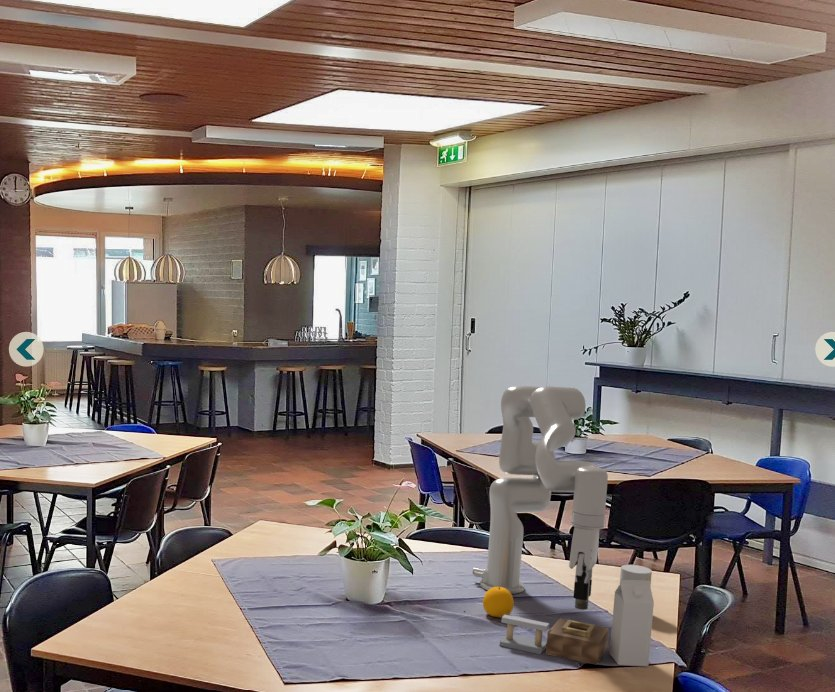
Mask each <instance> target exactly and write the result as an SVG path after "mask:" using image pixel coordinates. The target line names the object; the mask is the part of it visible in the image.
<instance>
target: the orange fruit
mask: <svg viewBox="0 0 835 692" xmlns="http://www.w3.org/2000/svg"><path fill="white" fill-rule="evenodd" d="M514 601H515V600H514V597H513V594H511V593H510V592H509V591H508V590H507V589H506V588H503V587H493V588H491V589H489V590H486V591H485V594H484V595H483V599H482V606H483V609H484V611H485V613H486V614H488V615H489V616H491V617H493V618H494V617H495V618H502V617H503V616H504V615H510V614H511V613H512V612H513V609H514V605H515V604H514V603H515V602H514Z"/></svg>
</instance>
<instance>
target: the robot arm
mask: <svg viewBox="0 0 835 692" xmlns="http://www.w3.org/2000/svg"><path fill="white" fill-rule="evenodd" d="M500 400H501V401H500V409H501V416H502V423H503V425H502V433H501V440H500V449H499V456H498V457H499V459H498V460H499V461H498V463H499V464H498V465H499V468H500V470H501V472H503V473H504V474H508V475H518V476H521V475H522V476H532V477H500V478H497V479H495V480H493V482H492V483H491V484H490V487H489V504H490V505H489V507H490V521H489V523H490V524H489V525H490V526H489V536H488V537H489V538H488V550H487V562H486V568H484V569H481V568H479V567H473V568H472V575H474V577H477V578H481V579H480V582H479V584H480V587H481V588H482V589H484V590H486V591H488V590H489V589H491V588H493V587H503V588H506V589H507V590H508V591H509V592H510V593H511V594H512V595H514V594H520V593H523V592H524V590H525V585H524V583H522V582H521V580H520V579H521V567H522V566H521V565H522V554H523V553H522V551H523V541H524V540H523V539H524V525H523V523H522V521H521V520H520V518H519V517H518V514H517V513H521V512H522V513H523V512H525V513H528V512H530V513H536V512H537V513H540V512H544V511H546V510H547V509H548V507H549V505H550V503H551V496H552V492H553V493H573V502H572V513H571V514H572V515H571V526H573V527H574V528H573V534H572V540H571V547H570V555H569V562H568V563H569V564H568V566H569V569H571V570H572V569H574V568H575V576H574V577H575V578H574V586H573V597H572V598H573V599H580V600H587V598H588V585H589V583H587V581H588V571H589V570H591V574H590V586H589V597H590V596H591V595H592V582H593V568H594V567H595V566H596V564H597V561H598V554H599V543H600V541H599V539H600V530H604V528H605V517H606V507H607V502H606V501H607V491H608V477H609V476H608V473H607V470H605V469H603V468H600V467H598V466H597V465H596V464H595V463H593V462H590V461H583V460H582V461H580V460H577V461H576V460H556V455H555V452H554V451H556V450H557V449H560V448H562V447H565V446H566V445H568V444H569V443H571V442H572V440H573V439H574V437H575V435H576V431H577V430H576V426H575V424H574V422H573V421H575V420H579V419H582V418H583V416H584V415H585V412H586V404H587V403H586V399H585V397H584V395H583V393H582V392H581V391H580V390H579V389H578V388H575V387H564V386H532V385H531V386H529V385H515V386H511V387H507V388H506V389H505V390H504V392H503V394H502V395H501V399H500ZM531 418H535V421H536V423H537V426H538V429H539V431H540V433H541V436H542V437H541V438H540V440H539V441H533V435H534V434H533V433H534V425H533V422H532V420H531ZM583 567H586V569H583ZM583 572H584V573H585V575H584V573H583Z"/></svg>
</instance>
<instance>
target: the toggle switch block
mask: <svg viewBox="0 0 835 692" xmlns="http://www.w3.org/2000/svg"><path fill="white" fill-rule="evenodd" d="M609 630H610V629H609V627H604V626H600V625H596V624H593V623H592V624H591V623H587V622H582V621H577V620H572V619H564V618H559V619H557V621H556V622H555V623H554V624H553V625H552V627H551V628H549V630H548V631H547V633H546V635H547V636H546V642H547V646H546V648H545V650H546V651H545V654H546V655H549V656H553V657H557V658H558V657H559V658H563V659H568V660H573V661H577V662H582V663H587V664H592V665H596V666H597V665H598V664H599V662H601V659H602V657H603V655H604V654H605V652H606V651H607V649H608V640H609Z"/></svg>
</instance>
